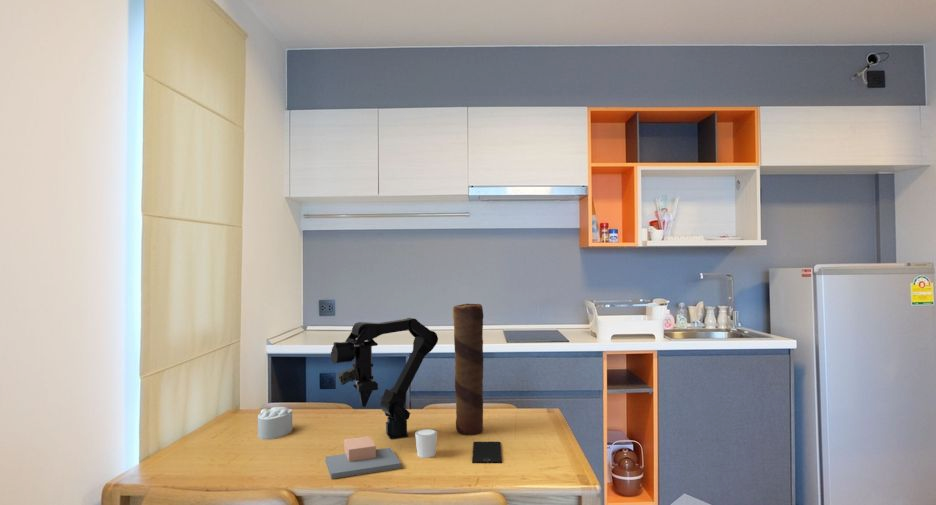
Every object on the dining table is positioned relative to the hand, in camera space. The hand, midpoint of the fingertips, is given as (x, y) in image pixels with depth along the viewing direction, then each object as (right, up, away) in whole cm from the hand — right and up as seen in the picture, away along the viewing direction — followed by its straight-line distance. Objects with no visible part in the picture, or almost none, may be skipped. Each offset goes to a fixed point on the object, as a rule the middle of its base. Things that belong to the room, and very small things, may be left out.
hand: (363, 406), depth 182 cm
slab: (0, -9, -10) cm, 14 cm away
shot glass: (+22, -12, -12) cm, 28 cm away
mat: (+4, -12, -20) cm, 23 cm away
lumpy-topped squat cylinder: (-34, -13, +11) cm, 38 cm away
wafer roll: (+36, -12, +10) cm, 39 cm away
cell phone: (+41, -12, -11) cm, 44 cm away
